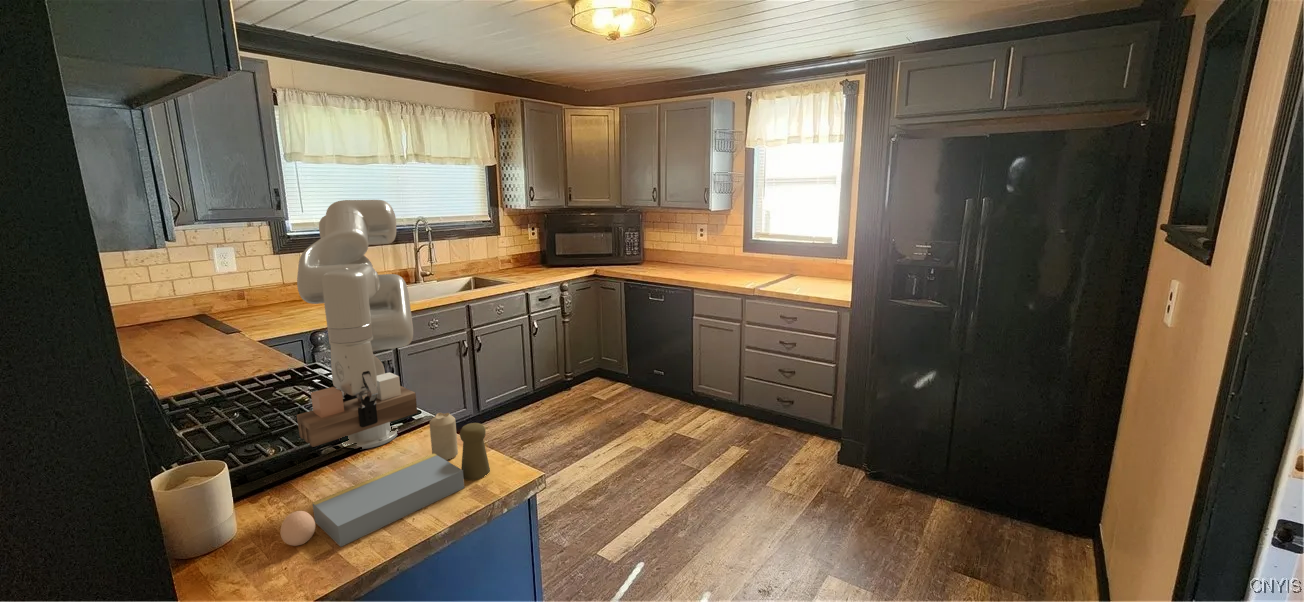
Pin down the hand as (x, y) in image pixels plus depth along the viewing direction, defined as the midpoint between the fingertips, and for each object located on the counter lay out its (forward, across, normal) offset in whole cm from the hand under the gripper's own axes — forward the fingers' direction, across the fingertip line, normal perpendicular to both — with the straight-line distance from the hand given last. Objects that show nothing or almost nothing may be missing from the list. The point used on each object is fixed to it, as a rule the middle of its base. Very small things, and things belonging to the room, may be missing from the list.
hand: (360, 419), depth 110 cm
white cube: (-3, 0, +6) cm, 7 cm away
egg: (+15, +9, -16) cm, 24 cm away
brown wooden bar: (+1, 0, 0) cm, 1 cm away
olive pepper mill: (+15, +12, +17) cm, 26 cm away
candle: (+15, 0, +17) cm, 23 cm away
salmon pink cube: (-3, 0, -6) cm, 6 cm away
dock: (+15, +10, 0) cm, 18 cm away
